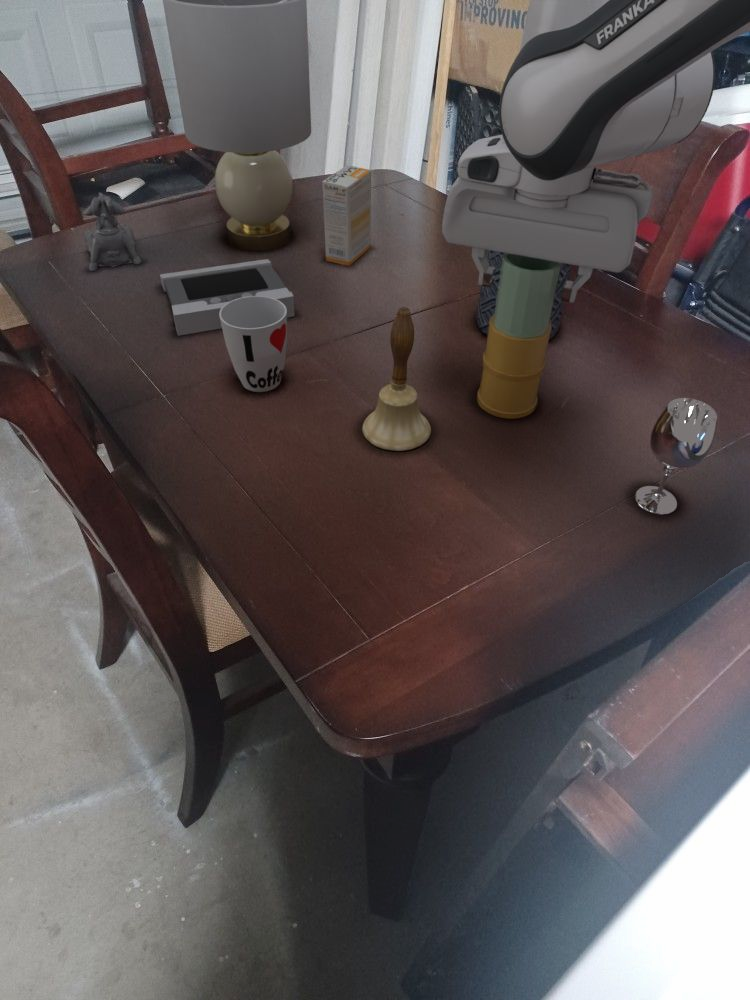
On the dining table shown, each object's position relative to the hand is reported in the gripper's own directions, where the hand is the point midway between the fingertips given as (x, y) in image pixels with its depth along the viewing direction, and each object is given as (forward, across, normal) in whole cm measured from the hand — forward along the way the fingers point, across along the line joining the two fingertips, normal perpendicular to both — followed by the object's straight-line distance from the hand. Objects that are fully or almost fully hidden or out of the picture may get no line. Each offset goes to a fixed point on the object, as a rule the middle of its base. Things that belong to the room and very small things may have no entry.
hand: (526, 291), depth 78 cm
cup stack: (+15, 0, 0) cm, 15 cm away
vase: (+15, +3, -19) cm, 25 cm away
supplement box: (+15, +35, -31) cm, 49 cm away
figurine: (+15, +71, -15) cm, 74 cm away
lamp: (+15, +52, -31) cm, 62 cm away
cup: (+15, +31, +8) cm, 35 cm away
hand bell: (+15, +11, +11) cm, 22 cm away
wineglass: (+15, -20, +12) cm, 27 cm away
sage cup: (+4, 0, 0) cm, 4 cm away
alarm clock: (+15, +46, -9) cm, 49 cm away
